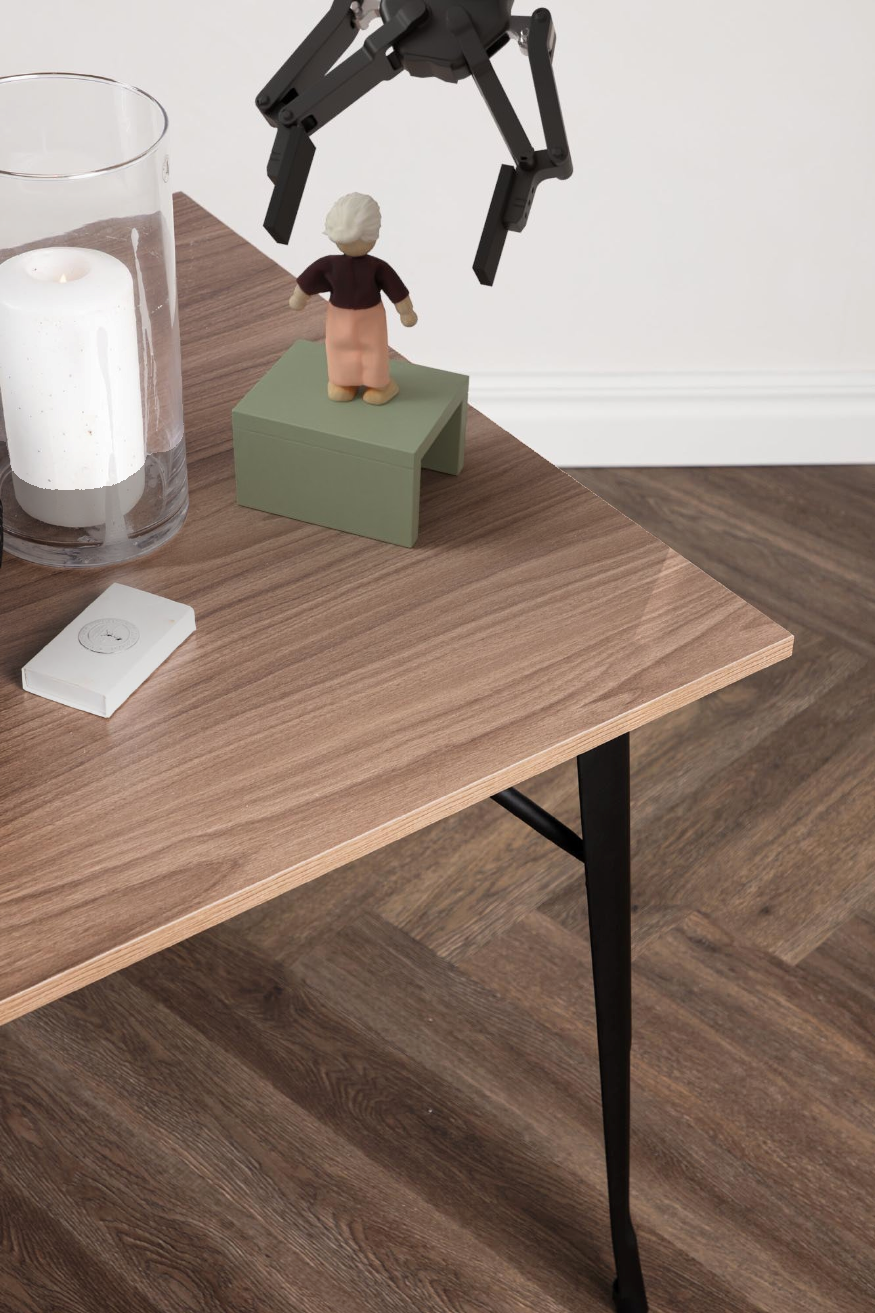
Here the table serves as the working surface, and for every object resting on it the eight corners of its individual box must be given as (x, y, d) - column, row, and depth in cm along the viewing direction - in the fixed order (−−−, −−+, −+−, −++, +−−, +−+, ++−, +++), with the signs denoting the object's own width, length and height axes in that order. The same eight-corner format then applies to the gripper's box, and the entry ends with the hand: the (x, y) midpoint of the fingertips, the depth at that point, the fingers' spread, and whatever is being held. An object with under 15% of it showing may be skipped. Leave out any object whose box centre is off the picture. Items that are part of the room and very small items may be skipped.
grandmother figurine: (413, 376, 90) (419, 183, 82) (415, 407, 88) (422, 210, 79) (292, 375, 90) (286, 180, 82) (290, 406, 87) (284, 207, 79)
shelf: (236, 504, 91) (231, 409, 86) (300, 429, 98) (298, 337, 94) (411, 548, 88) (414, 453, 84) (463, 467, 95) (469, 375, 91)
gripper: (672, -7, 88) (580, 317, 87) (304, -61, 94) (215, 242, 93) (664, -81, 81) (565, 272, 80) (267, -135, 87) (169, 193, 86)
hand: (376, 256), depth 86 cm, fingers open, 13 cm apart
